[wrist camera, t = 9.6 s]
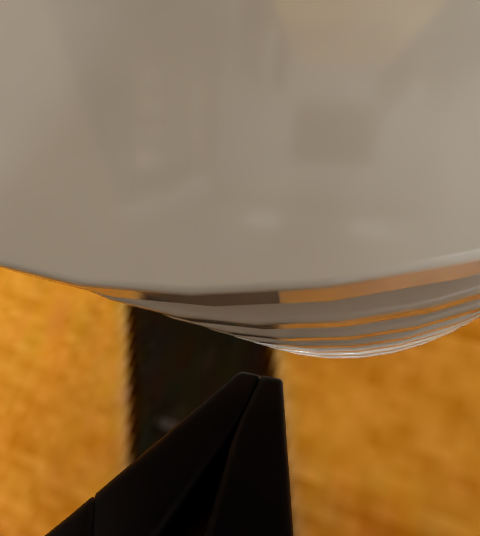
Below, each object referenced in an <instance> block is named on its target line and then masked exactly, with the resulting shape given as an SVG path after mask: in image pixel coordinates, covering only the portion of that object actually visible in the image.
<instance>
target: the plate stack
mask: <svg viewBox="0 0 480 536" xmlns="http://www.w3.org/2000/svg"><path fill="white" fill-rule="evenodd" d="M0 267H1V268H4V269H8V270H11V271H14V272H18V273H21V274H24V275H28V276H31V277H35V278H39V279H43V280H47V281H51V282H55V283H59V284H63V285H67V286H71V287H75V288H80V289H84V290H88V291H91V292H93V293H95V294H98V295H100V296H102V297H105V298H107V299H109V300H112V301H116V302H119V303H122V304H126V305H129V306H133V307H137V308H141V309H145V310H149V311H152V312H156V313H160V314H164V315H166V316H168V317H171V318H173V319H176V320H180V321H183V322H187V323H190V324H194V325H198V326H202V327H206V328H208V329H210V330H213V331H217V332H220V333H224V334H228V335H232V336H235V337H237V338H240V339H244V340H248V341H252V342H254V343H257V344H261V345H265V346H268V347H271V348H274V349H278V350H282V351H286V352H290V353H294V354H297V355H302V356H311V357H319V358H327V359H355V358H367V357H374V356H381V355H388V354H393V353H396V352H400V351H403V350H407V349H411V348H414V347H418V346H421V345H424V344H426V343H428V342H431V341H433V340H435V339H438V338H440V337H442V336H445V335H447V334H449V333H452V332H453V331H455V330H457V329H458V328H460V327H463V326H465V325H466V324H468V323H470V322H472V321H473V320H475V319H477V318H479V317H480V0H0Z"/></svg>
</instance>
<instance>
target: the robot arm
mask: <svg viewBox="0 0 480 536" xmlns="http://www.w3.org/2000/svg"><path fill="white" fill-rule="evenodd" d="M45 536H293V524H292V510H291V495H290V481H289V467H288V453H287V439H286V424H285V410H284V396H283V383H282V380H281V379H278V378H272V377H267V376H263V377H260V376H259V375H257V374H252V373H247V372H240V373H238V374H236V375H235V376H234V377H233V378H232V379H231V380H229V381H228V382H227V383H226V384H225V385H223V386H222V387H221V388H220V389H219V390H218V391H216V392H215V393H214V394H213V395H212V396H210V397H209V398H208V399H207V400H206V401H205V402H203V403H202V404H201V405H200V406H199V407H198V408H196V409H195V410H194V411H193V412H192V413H190V414H189V415H188V416H187V417H186V418H185V419H183V420H182V421H181V422H180V423H179V424H178V425H176V426H175V427H174V428H173V429H172V430H170V431H169V432H168V433H167V434H166V435H165V436H163V437H162V438H161V439H160V440H159V441H157V442H156V443H155V444H154V445H153V446H152V447H150V448H149V449H148V450H147V451H146V452H145V453H143V454H142V455H141V456H140V457H139V458H137V459H136V460H135V461H134V462H133V463H132V464H130V465H129V466H128V467H127V468H126V469H124V470H123V471H122V472H121V473H120V474H119V475H117V476H116V477H115V478H114V479H113V480H112V481H110V482H109V483H108V484H107V485H106V486H104V487H103V488H102V489H101V490H100V491H99V492H97V493H96V495H95V498H94V497H91V498H90V499H89V500H88V501H86V502H85V503H84V504H83V505H82V506H81V507H79V508H78V509H77V510H76V511H75V512H74V513H72V514H71V515H70V516H69V517H67V518H66V519H65V520H64V521H62V522H61V523H60V524H59V525H58V526H56V527H55V528H54V529H53V530H51V531H50V532H49V533H48V534H46V535H45Z"/></svg>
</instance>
